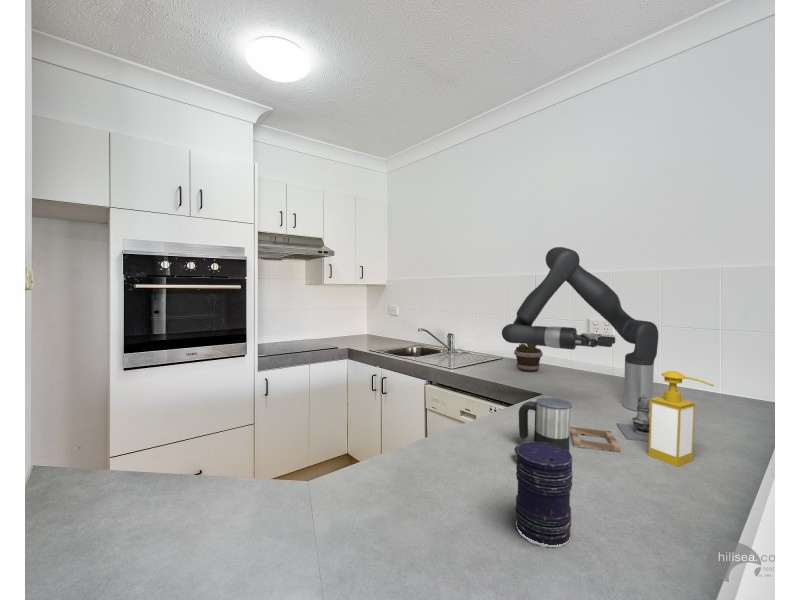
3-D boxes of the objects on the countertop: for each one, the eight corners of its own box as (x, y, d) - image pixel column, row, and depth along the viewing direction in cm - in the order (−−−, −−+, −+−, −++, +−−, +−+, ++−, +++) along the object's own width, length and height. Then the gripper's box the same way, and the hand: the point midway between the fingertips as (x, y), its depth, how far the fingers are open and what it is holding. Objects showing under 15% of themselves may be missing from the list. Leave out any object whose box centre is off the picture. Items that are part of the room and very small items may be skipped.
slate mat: (616, 424, 125) (616, 423, 125) (658, 429, 122) (658, 427, 121) (626, 439, 114) (626, 437, 114) (672, 444, 110) (673, 442, 110)
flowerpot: (509, 367, 212) (509, 331, 211) (535, 366, 213) (535, 331, 213) (520, 373, 197) (520, 335, 196) (547, 372, 199) (548, 335, 198)
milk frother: (569, 450, 105) (570, 398, 105) (574, 477, 91) (576, 417, 90) (516, 443, 110) (517, 393, 110) (513, 467, 96) (514, 410, 95)
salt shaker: (658, 435, 115) (659, 396, 114) (639, 435, 115) (640, 396, 114) (645, 428, 121) (646, 391, 120) (627, 428, 121) (628, 391, 120)
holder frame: (569, 431, 119) (569, 426, 119) (610, 436, 116) (610, 431, 116) (574, 446, 108) (574, 441, 108) (620, 452, 105) (620, 446, 104)
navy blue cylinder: (507, 515, 76) (508, 442, 75) (554, 513, 76) (556, 441, 76) (528, 550, 66) (530, 466, 65) (581, 547, 67) (584, 464, 66)
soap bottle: (702, 476, 92) (706, 380, 91) (648, 455, 103) (651, 369, 102) (717, 469, 95) (721, 377, 94) (663, 450, 106) (666, 367, 105)
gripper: (555, 328, 125) (611, 332, 116) (565, 325, 137) (616, 328, 128) (555, 351, 126) (610, 356, 116) (564, 345, 137) (615, 350, 128)
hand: (613, 342), depth 122 cm, fingers open, 8 cm apart
